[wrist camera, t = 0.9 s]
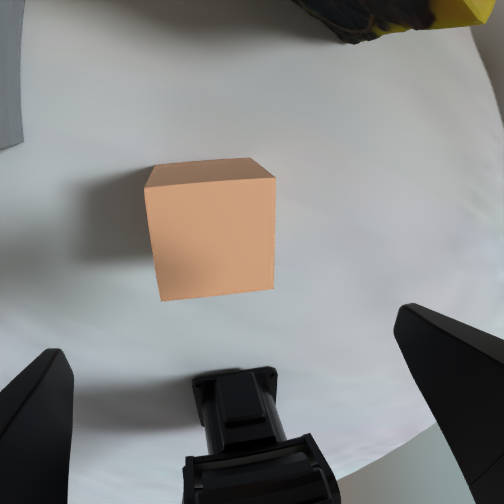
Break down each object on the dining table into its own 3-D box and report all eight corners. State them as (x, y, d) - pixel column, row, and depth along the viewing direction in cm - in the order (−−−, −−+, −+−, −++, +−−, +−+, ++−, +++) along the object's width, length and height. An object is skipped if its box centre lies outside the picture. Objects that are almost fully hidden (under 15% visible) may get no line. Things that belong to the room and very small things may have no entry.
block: (251, 243, 19) (273, 288, 14) (165, 251, 18) (161, 301, 13) (250, 157, 16) (275, 177, 12) (155, 164, 16) (143, 187, 11)
